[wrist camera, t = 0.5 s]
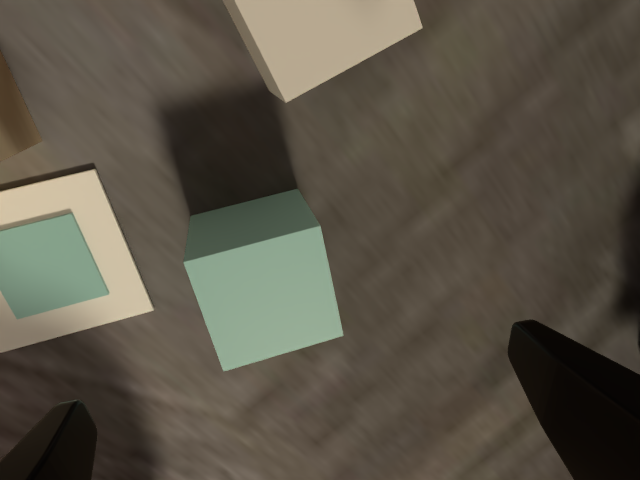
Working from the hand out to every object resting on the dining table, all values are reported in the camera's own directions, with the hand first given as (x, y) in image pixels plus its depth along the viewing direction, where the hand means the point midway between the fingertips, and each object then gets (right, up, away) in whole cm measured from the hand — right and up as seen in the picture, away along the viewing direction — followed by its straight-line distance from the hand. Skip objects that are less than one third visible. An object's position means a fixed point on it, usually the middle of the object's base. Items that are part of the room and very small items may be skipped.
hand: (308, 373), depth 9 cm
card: (-12, +2, +10) cm, 16 cm away
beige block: (-1, +12, +8) cm, 15 cm away
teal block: (-3, +2, +12) cm, 13 cm away
